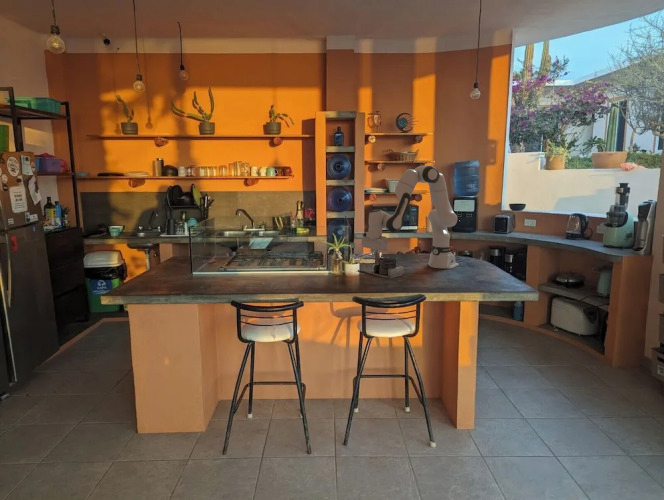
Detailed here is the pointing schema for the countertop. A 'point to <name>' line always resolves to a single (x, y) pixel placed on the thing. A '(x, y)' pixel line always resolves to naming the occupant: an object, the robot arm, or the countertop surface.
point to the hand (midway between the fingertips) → (374, 255)
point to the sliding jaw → (376, 264)
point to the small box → (386, 265)
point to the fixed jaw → (389, 272)
